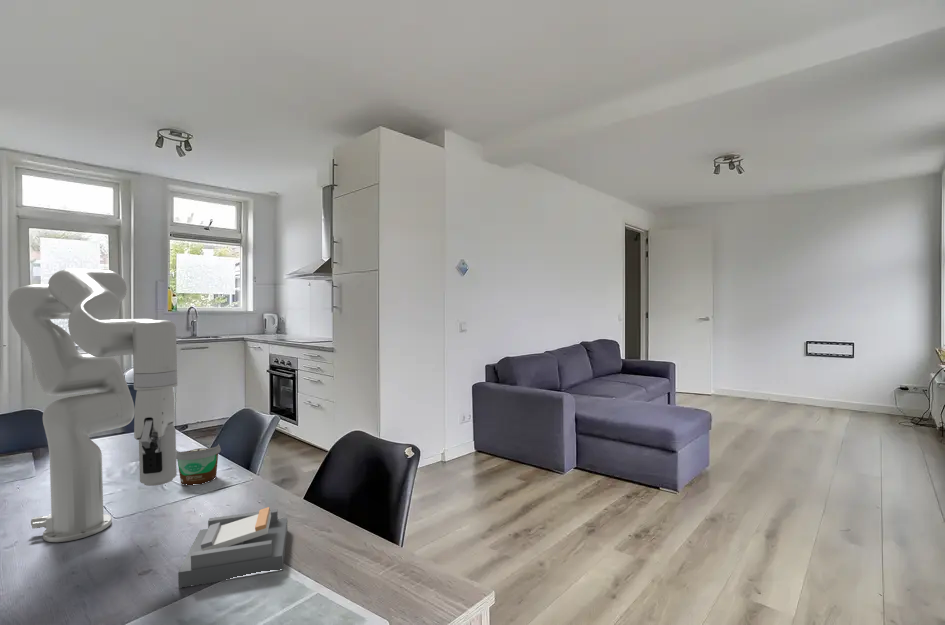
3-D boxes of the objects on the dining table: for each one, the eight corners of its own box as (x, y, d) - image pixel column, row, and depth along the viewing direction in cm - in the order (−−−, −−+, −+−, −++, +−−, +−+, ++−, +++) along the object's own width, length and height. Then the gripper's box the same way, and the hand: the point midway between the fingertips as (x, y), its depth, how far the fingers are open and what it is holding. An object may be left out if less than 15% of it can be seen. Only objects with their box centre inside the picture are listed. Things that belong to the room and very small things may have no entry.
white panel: (203, 554, 95) (200, 545, 95) (212, 534, 104) (210, 525, 104) (267, 533, 99) (265, 524, 99) (271, 515, 107) (269, 506, 107)
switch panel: (178, 588, 90) (177, 559, 90) (200, 543, 107) (199, 518, 107) (282, 570, 96) (281, 543, 95) (287, 530, 113) (286, 507, 113)
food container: (173, 490, 139) (172, 455, 139) (174, 483, 144) (174, 449, 144) (221, 482, 144) (220, 448, 144) (221, 475, 150) (220, 443, 150)
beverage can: (159, 488, 96) (157, 428, 96) (131, 486, 98) (130, 427, 97) (184, 476, 103) (182, 420, 102) (158, 475, 104) (156, 419, 104)
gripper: (148, 375, 107) (151, 456, 107) (117, 388, 90) (120, 484, 91) (187, 373, 109) (189, 453, 109) (164, 385, 93) (166, 479, 93)
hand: (158, 466), depth 100 cm, fingers closed on beverage can, 6 cm apart
